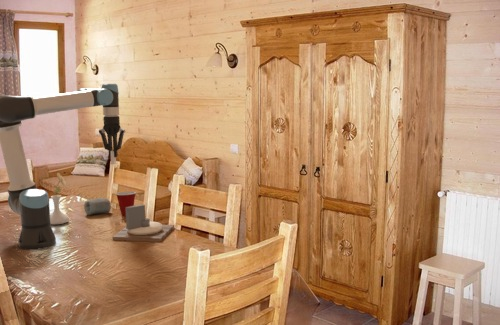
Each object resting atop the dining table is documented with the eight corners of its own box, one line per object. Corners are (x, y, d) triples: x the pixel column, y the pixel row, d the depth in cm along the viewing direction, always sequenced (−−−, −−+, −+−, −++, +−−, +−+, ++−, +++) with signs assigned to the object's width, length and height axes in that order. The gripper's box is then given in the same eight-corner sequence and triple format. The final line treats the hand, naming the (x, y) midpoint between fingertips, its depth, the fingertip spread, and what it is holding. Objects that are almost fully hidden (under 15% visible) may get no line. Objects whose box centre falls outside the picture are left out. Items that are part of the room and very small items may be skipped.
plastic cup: (135, 211, 295) (134, 189, 293) (139, 215, 285) (138, 193, 283) (114, 213, 290) (113, 191, 289) (118, 217, 281) (117, 195, 279)
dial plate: (160, 241, 239) (160, 237, 239) (112, 240, 242) (112, 236, 242) (174, 228, 261) (174, 224, 260) (129, 226, 264) (129, 223, 263)
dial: (149, 223, 262) (149, 199, 260) (168, 230, 251) (168, 204, 249) (119, 230, 251) (117, 204, 249) (137, 237, 240) (136, 210, 238)
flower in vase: (62, 227, 264) (58, 176, 260) (40, 225, 267) (37, 175, 263) (75, 220, 277) (72, 171, 273) (55, 219, 279) (52, 170, 275)
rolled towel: (84, 211, 281) (87, 193, 284) (81, 216, 289) (84, 198, 292) (110, 215, 285) (113, 197, 289) (107, 219, 294) (110, 202, 297)
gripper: (127, 115, 268) (129, 162, 271) (101, 115, 269) (103, 162, 273) (121, 116, 260) (123, 165, 264) (95, 116, 262) (97, 164, 266)
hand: (113, 163), depth 268 cm, fingers closed
